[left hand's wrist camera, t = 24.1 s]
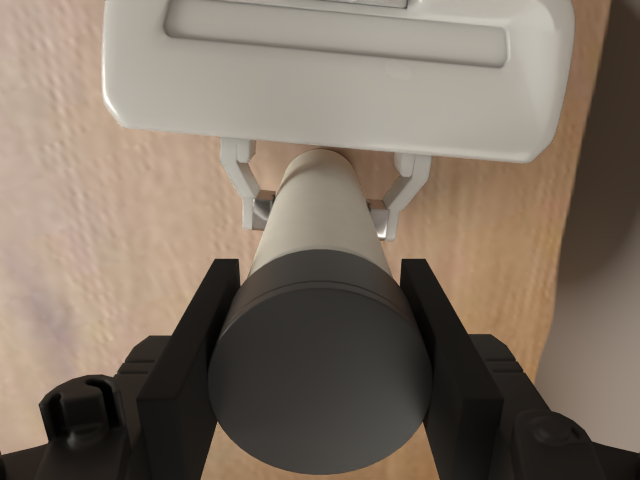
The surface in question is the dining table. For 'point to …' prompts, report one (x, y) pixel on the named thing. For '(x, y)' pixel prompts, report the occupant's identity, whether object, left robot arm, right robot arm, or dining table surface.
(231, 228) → the dining table surface
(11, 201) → the dining table surface
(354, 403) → the lid
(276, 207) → the cream white bottle
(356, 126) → the right robot arm
